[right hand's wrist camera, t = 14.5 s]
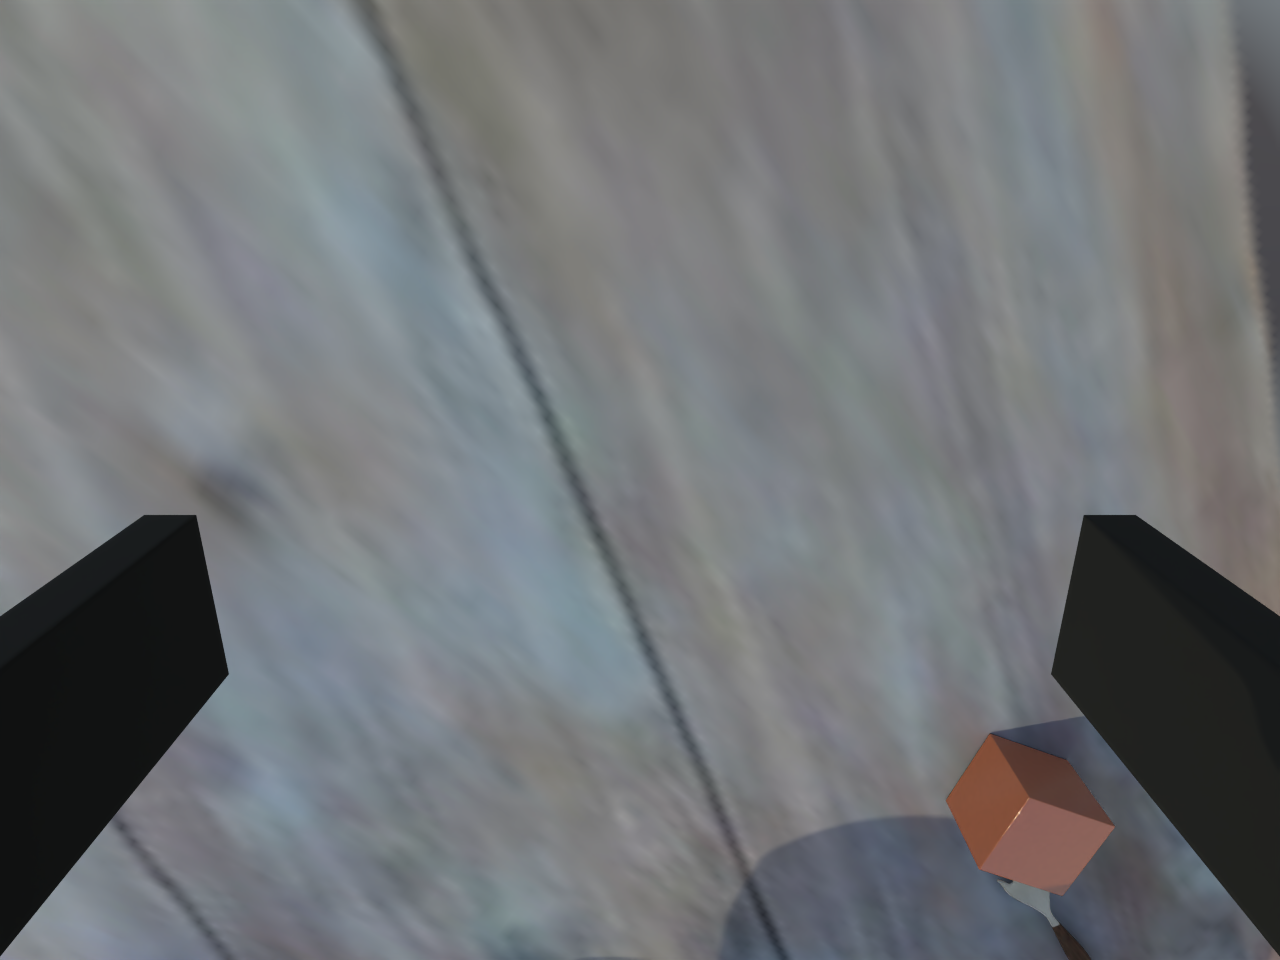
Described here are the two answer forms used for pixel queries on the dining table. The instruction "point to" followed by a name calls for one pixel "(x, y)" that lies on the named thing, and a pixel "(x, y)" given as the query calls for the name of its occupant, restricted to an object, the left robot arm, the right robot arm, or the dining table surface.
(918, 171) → the dining table surface
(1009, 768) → the terracotta block
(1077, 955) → the fork
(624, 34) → the dining table surface
